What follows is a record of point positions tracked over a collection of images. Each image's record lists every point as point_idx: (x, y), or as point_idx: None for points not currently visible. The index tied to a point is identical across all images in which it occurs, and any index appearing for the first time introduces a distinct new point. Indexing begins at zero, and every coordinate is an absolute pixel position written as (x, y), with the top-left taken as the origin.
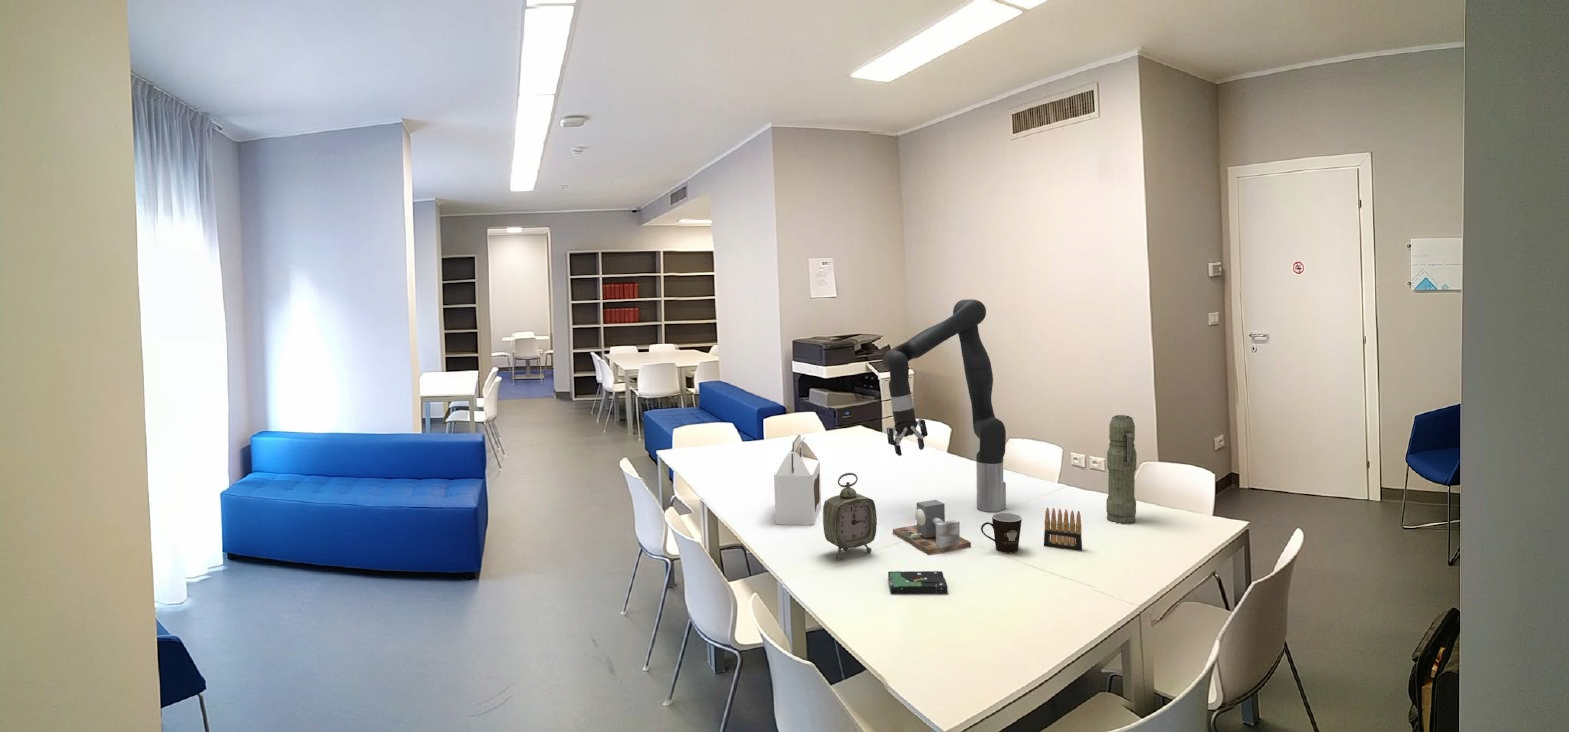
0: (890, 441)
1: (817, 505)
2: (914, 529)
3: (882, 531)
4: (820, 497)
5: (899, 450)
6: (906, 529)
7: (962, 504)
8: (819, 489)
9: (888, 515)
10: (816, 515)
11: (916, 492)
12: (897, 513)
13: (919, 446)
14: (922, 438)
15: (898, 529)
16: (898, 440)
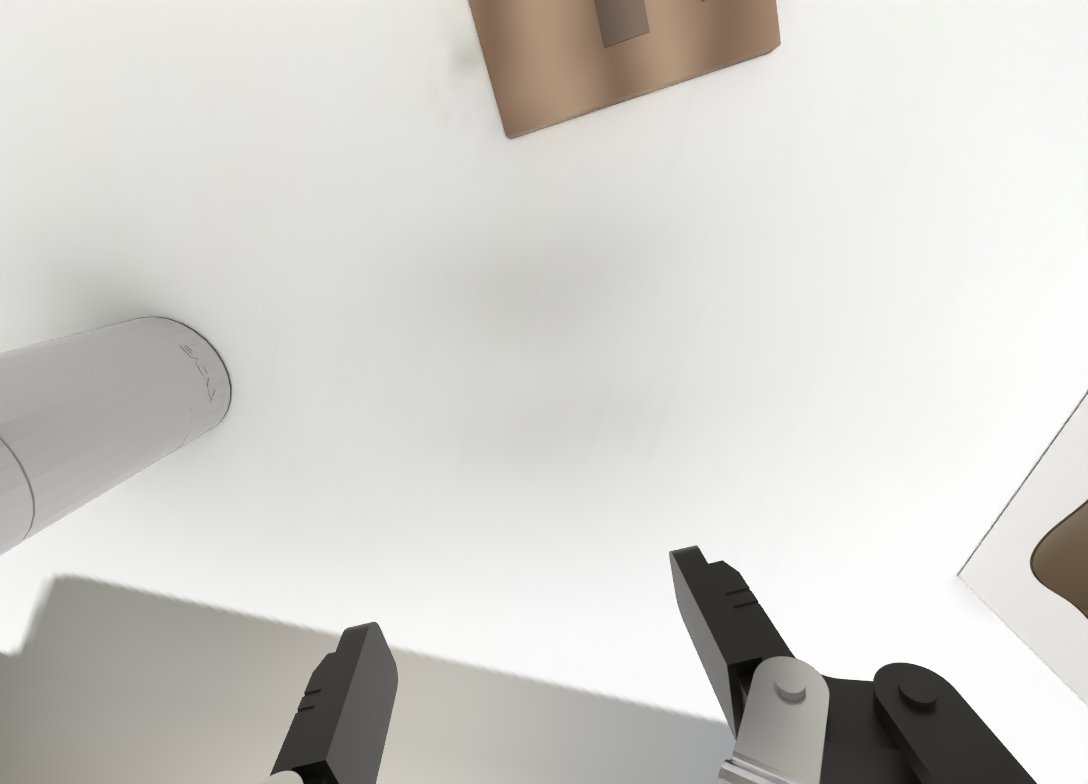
0: (993, 753)
1: (1086, 487)
2: (650, 6)
3: (815, 105)
4: (1004, 601)
5: (720, 594)
6: (700, 14)
7: (290, 460)
8: (1073, 619)
9: (681, 378)
10: (1084, 420)
11: (457, 653)
12: (626, 399)
13: (383, 687)
14: (272, 782)
15: (749, 25)
16: (800, 757)
